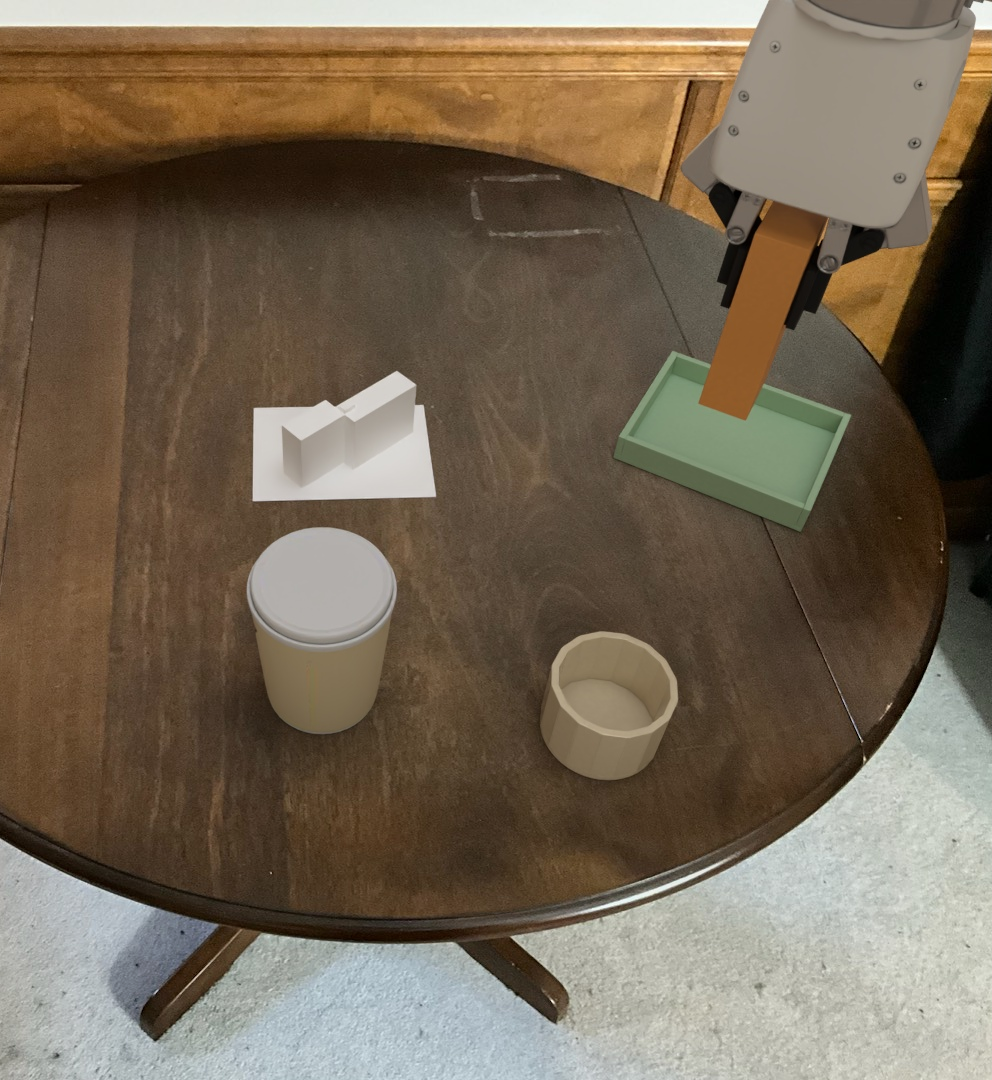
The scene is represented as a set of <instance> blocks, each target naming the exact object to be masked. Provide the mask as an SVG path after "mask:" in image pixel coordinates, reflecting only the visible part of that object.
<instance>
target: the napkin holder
mask: <svg viewBox="0 0 992 1080" xmlns="http://www.w3.org/2000/svg"><path fill="white" fill-rule="evenodd" d="M416 395H417V384H416V383H415V382H413V381H412V380H411V379H410V378H408V377H406V376H405V375H403V374H402V373H401V372H399V371H398V370H396V371H394V372H392V373H391V374H389V375H387V376H386V377H383V378H382V379H381V380H378V381H377V382H375V383H373V384H372V385H369V386H368V387H367V388H365V389H363V390H362V391H360V392H358V393H356V394H354V395H353V396H351V397H349V398H348V399H345V400H344V401H342V402H341V403H339V404H337V405H336V406H334V405H333V404H332V403H331V402H329V401H328V400H326V399H325V400H323V401H321V402H319V403H317V404H316V405H314V406H286V407H284V406H283V407H282V406H281V407H253V422H252V423H253V427H252V428H253V433H252V502H280V501H285V502H286V501H321V500H322V501H325V500H326V501H327V500H363V499H366V500H367V499H405V498H406V499H409V498H412V499H413V498H437V492H436V484H435V478H434V470H433V464H432V456H431V449H430V441H429V436H428V435H429V434H428V428H427V427H428V426H427V420H426V413H425V412H426V411H425V406H424V404H416Z"/></svg>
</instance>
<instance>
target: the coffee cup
mask: <svg viewBox="0 0 992 1080" xmlns="http://www.w3.org/2000/svg"><path fill="white" fill-rule="evenodd" d="M397 594H398V587H397V579H396V576H395V572H394V569H393V567H392V566H391V564H390V562H389V561H388V559H387V558H386V557H385V555H384V554H383V553H382V551H381V550H380V549H379V548H378V547H377V546H376V545H375V544H373V543H372V542H370V541H369V540H368V539H367V538H365V537H363V536H361V535H359V534H357V533H354V532H351V531H349V530H346V529H342V528H336V527H326V526H318V527H317V526H316V527H309V528H302V529H299V530H295V531H293V532H290V533H287V534H285V535H284V536H281V537H280V538H277V539H276V540H275V541H273V542H272V543H271V544H270V545H268V546H267V547H266V548H265V549H264V550H263V551H262V552H261V554H260V555H259V557H258V558H257V560H256V561H255V562H254V564H253V565H252V567H251V570H250V571H249V574H248V578H247V581H246V599H247V604H248V607H249V611H250V613H251V617H252V623H253V629H254V633H255V639H256V644H257V648H258V655H259V660H260V665H261V669H262V675H263V680H264V685H265V688H266V693H267V697H268V700H269V703H270V705H271V707H272V709H273V711H274V712H275V713H276V715H277V716H278V717H279V718H280V719H281V720H282V721H283V722H284V723H286V724H287V725H288V726H290V727H292V728H294V729H296V730H298V731H301V732H303V733H308V734H312V735H330V734H337V733H340V732H343V731H346V730H348V729H350V728H352V727H354V726H355V725H357V724H358V723H360V722H361V721H362V720H363V719H364V718H366V716H367V715H368V714H369V713H370V711H371V710H372V707H373V706H374V703H375V701H376V699H377V695H378V691H379V687H380V682H381V676H382V670H383V665H384V661H385V660H384V659H385V654H386V649H387V643H388V639H389V632H390V626H391V619H392V614H393V611H394V608H395V605H396V603H397Z"/></svg>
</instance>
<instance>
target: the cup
mask: <svg viewBox="0 0 992 1080" xmlns="http://www.w3.org/2000/svg"><path fill="white" fill-rule="evenodd" d="M549 670H550V671H549V675H548V678H547V682H546V686H545V689H544V694H543V697H542V701H541V704H540V714H539V728H540V734H541V736H542V739H543V742H544V743H545V745H546V747H547V749H548V750H549V752H550V753H551V754H552V755H553V756H554V758H555V759H556V760H557V761H559V763H561V764H562V765H563V766H565V767H566V768H567V769H569V770H571V771H572V772H574V773H575V774H577V775H578V774H579V775H581V776H583V777H585V778H590V779H594V780H600V781H616V780H623V779H626V778H630V777H632V776H635V775H636V774H638V773H639V772H642V770H644V769H645V768H646V767H647V766H648V765H650V763H651V761H653V759H654V758H655V756H656V753H657V751H658V749H659V747H660V745H661V743H662V740H663V738H664V735H665V733H666V731H667V728H668V726H669V724H670V722H671V719H672V717H673V715H674V712H675V710H676V708H677V705H678V703H679V691H678V690H679V689H678V680H677V677H676V675H675V674H674V671H673V670H672V668H671V666H670V664H669V662H668V661H667V659H666V658H664V657H663V656H662V654H660V653H659V652H658V651H657V650H656V649H655V648H654V647H652V646H651V645H650V644H648V643H647V642H645V641H643V640H640V639H638V638H636V637H634V636H632V635H629V634H627V633H620V632H612V631H604V630H599V631H594V632H591V633H586V634H581V635H578V636H577V637H575V638H573V639H572V640H571V641H569V642H568V643H566V644H564V645H563V646H562V647H561V648H560V649H559V651H558V653H557V655H556V657H555V658H554V660H553V662H552V664H551V667H550V669H549Z"/></svg>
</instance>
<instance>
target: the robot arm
mask: <svg viewBox="0 0 992 1080" xmlns="http://www.w3.org/2000/svg"><path fill="white" fill-rule="evenodd" d="M985 1H986V2H990V3H992V0H768V1H767V3H766V5H765V8H764V10H763V12H762V14H761V16H760V18H759V21H758V23H757V25H756V27H755V30H754V32H753V34H752V37H751V39H750V41H749V43H748V45H747V49H746V51H745V54H744V56H743V59H742V61H741V63H740V66H739V69H738V72H737V74H736V77H735V81H734V83H733V86H732V88H731V91H730V95H729V97H728V100H727V103H726V105H725V108H724V111H723V113H722V116H721V119H720V121H719V123H717V125H715V126H714V128H713V129H711V130H710V132H708V134H707V135H706V136H705V137H704V138H702V139H701V140H700V142H699V143H698V144H697V145H696V146H695V147H694V148H693V149H692V150H691V151H690V152H689V153H688V155H687V156H686V157H685V159H684V160H683V162H682V163H681V165H680V172H681V174H682V175H683V176H684V177H685V178H686V179H687V180H688V181H689V182H690V183H691V184H693V185H694V186H695V187H696V188H697V189H698V190H699V192H701V193H702V194H705V195H706V196H708V201H709V203H710V205H711V206H712V208H713V210H714V211H715V213H716V215H717V216H718V218H719V220H720V221H721V223H722V225H723V227H724V229H725V231H724V237H725V240H726V242H728V243H727V246H726V249H725V252H724V255H723V260H722V263H721V266H720V269H719V272H718V276H717V279H716V282H717V283H718V284H722V285H725V289H724V292H723V296H722V298H721V301H720V305H719V306H720V307H721V308H725V309H727V310H729V309H730V306H731V303H732V300H733V298H734V295H735V292H736V289H737V286H738V283H739V280H740V277H741V274H742V271H743V268H744V265H745V262H746V259H747V256H748V253H749V250H750V247H751V244H752V241H753V238H754V235H755V232H756V231H757V229H758V227H759V226H760V224H761V222H762V220H763V218H761V214H762V212H763V210H764V209H765V205H766V203H767V201H771V202H773V201H774V202H777V203H781V204H784V205H787V206H791V207H794V208H797V209H801V210H804V211H807V212H811V213H814V214H818V215H821V216H824V217H828V220H827V223H826V226H825V230H824V235H823V238H821V239H820V241H819V243H818V245H817V246H816V248H815V250H814V252H813V254H812V256H811V258H810V260H809V262H808V264H807V266H806V268H805V270H804V273H803V275H802V278H801V280H800V283H799V286H798V288H797V291H796V294H795V296H794V299H793V301H792V304H791V307H790V309H789V312H788V314H787V317H786V320H785V322H784V325H786V327H785V328H786V329H788V330H791V331H795V330H796V328H797V326H798V324H799V322H800V319H801V317H802V315H803V313H804V311H805V312H808V313H811V314H813V315H816V314H817V312H818V310H819V307H820V305H821V303H822V301H823V298H824V295H825V293H826V291H827V289H828V286H829V283H830V281H831V278H832V276H833V274H836V272H838V271H839V270H840V269H841V267H842V266H844V265H847V264H849V263H852V262H854V261H857V260H860V259H862V258H864V257H868V256H871V255H873V254H875V253H877V252H879V251H880V250H884V249H887V250H895V249H902V248H911V247H918V246H923V245H924V244H925V243H926V242H927V241H928V239H929V237H930V234H931V231H932V228H933V218H932V212H931V211H932V209H931V203H930V194H929V187H928V180H927V173H926V171H927V169H928V166H929V164H930V161H931V159H932V156H933V153H934V152H935V149H936V147H937V145H938V142H939V138H940V136H941V134H942V131H943V129H944V126H945V123H946V121H947V118H948V116H949V113H950V111H951V107H952V105H953V103H954V100H955V97H956V95H957V92H958V89H959V86H960V84H961V80H962V77H963V75H964V70H965V68H966V64H967V60H968V56H969V53H970V50H971V46H972V41H973V37H974V36H973V35H974V32H975V26H976V21H977V17H976V14H975V13H974V12H973V11H972V10H971V8H972V5H973V4H974V2H976V3H980V4H984V2H985Z"/></svg>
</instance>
